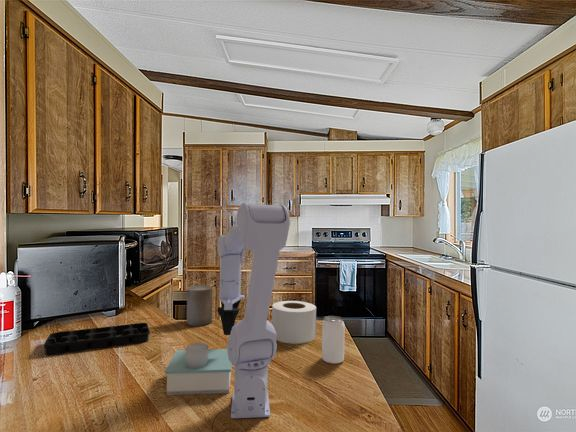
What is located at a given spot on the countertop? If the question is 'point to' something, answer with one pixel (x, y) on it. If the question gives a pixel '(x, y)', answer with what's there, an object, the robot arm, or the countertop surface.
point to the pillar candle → (199, 305)
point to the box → (198, 383)
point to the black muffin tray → (96, 338)
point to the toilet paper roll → (294, 321)
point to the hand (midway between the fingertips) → (229, 329)
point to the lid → (216, 363)
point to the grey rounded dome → (196, 355)
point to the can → (333, 339)
